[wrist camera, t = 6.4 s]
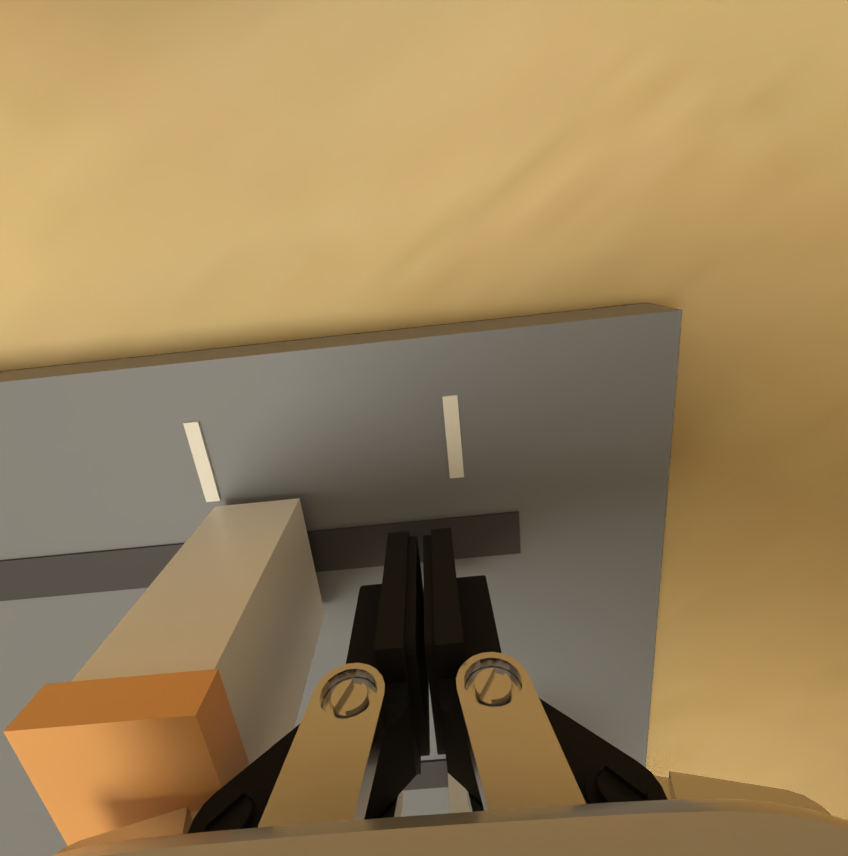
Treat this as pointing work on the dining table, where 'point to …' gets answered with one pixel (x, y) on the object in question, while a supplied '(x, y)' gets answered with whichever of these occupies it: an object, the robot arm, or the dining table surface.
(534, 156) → the dining table surface
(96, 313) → the dining table surface
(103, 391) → the panel
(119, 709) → the fader orange
